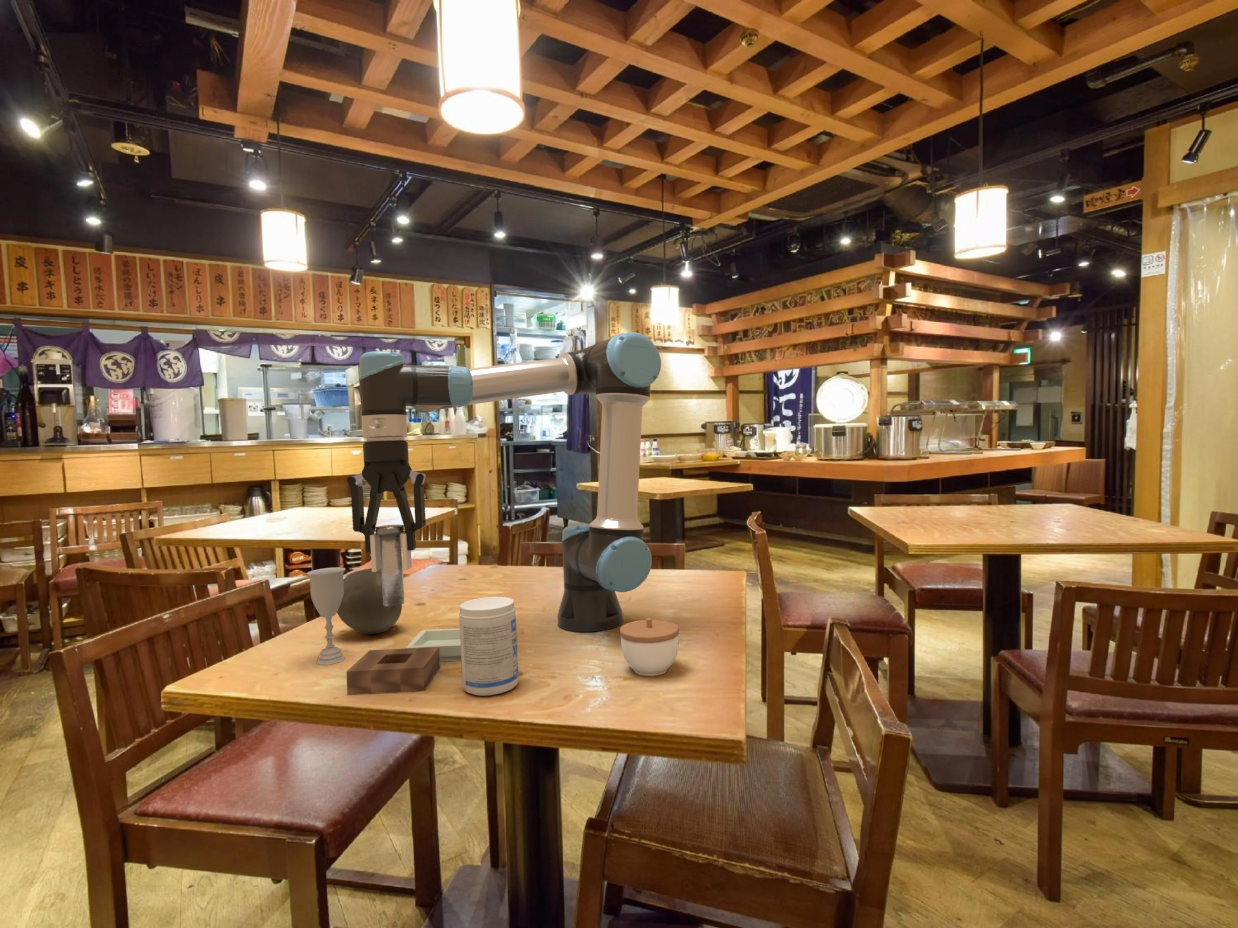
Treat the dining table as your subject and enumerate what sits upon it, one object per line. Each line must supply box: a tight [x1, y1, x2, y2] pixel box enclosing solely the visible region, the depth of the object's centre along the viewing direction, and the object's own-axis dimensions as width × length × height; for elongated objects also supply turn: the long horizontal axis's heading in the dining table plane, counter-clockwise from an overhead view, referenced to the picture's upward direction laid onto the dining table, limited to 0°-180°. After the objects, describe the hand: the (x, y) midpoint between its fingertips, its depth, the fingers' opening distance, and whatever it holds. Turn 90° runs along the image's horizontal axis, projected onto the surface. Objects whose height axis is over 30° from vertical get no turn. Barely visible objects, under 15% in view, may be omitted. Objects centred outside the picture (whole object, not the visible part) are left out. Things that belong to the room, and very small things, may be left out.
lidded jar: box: [619, 617, 680, 677], centre depth 112 cm, size 11×11×9 cm
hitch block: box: [345, 647, 441, 696], centre depth 111 cm, size 13×11×4 cm
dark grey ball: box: [336, 567, 403, 635], centre depth 140 cm, size 14×14×15 cm
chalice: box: [306, 566, 346, 666], centre depth 123 cm, size 7×7×18 cm
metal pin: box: [375, 524, 405, 606], centre depth 111 cm, size 5×5×14 cm
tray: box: [404, 627, 462, 663], centre depth 126 cm, size 14×12×3 cm
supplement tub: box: [458, 596, 519, 697], centre depth 106 cm, size 10×10×15 cm
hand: (392, 569), depth 111 cm, fingers closed on metal pin, 5 cm apart
